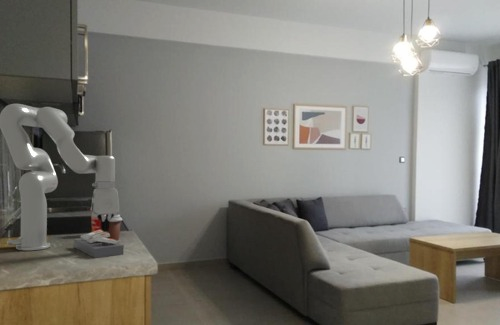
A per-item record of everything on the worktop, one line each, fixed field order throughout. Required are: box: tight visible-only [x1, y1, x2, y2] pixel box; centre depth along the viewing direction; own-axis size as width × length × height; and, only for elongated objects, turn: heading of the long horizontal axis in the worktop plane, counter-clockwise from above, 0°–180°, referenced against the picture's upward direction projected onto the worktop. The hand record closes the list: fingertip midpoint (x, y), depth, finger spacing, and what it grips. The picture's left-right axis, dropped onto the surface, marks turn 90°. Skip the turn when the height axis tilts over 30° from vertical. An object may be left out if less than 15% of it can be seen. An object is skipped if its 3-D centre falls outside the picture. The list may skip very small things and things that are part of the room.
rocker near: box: [93, 236, 118, 244], centre depth 162 cm, size 8×4×1 cm, turn 130°
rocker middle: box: [86, 232, 110, 243], centre depth 168 cm, size 8×4×1 cm, turn 131°
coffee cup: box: [103, 213, 123, 243], centre depth 188 cm, size 9×9×12 cm
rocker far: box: [80, 230, 103, 240], centre depth 173 cm, size 8×4×1 cm, turn 131°
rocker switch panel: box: [73, 238, 125, 259], centre depth 168 cm, size 11×24×4 cm, turn 40°
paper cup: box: [90, 206, 106, 232], centre depth 203 cm, size 8×8×14 cm
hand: (105, 230), depth 169 cm, fingers closed
